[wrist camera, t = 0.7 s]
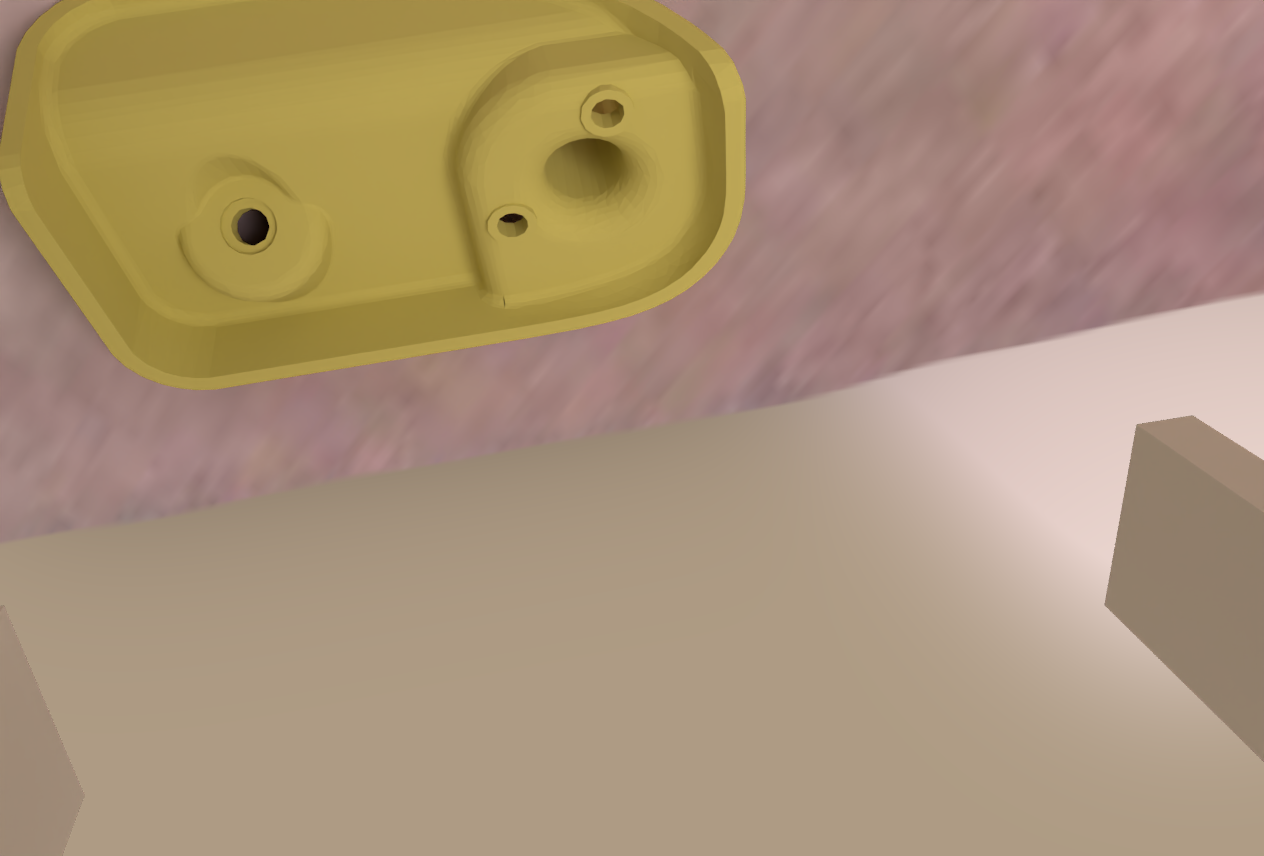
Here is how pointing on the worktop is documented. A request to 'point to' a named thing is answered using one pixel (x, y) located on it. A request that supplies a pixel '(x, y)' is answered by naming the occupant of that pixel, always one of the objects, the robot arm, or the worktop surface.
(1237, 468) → the robot arm
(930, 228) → the worktop surface
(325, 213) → the plastic component
